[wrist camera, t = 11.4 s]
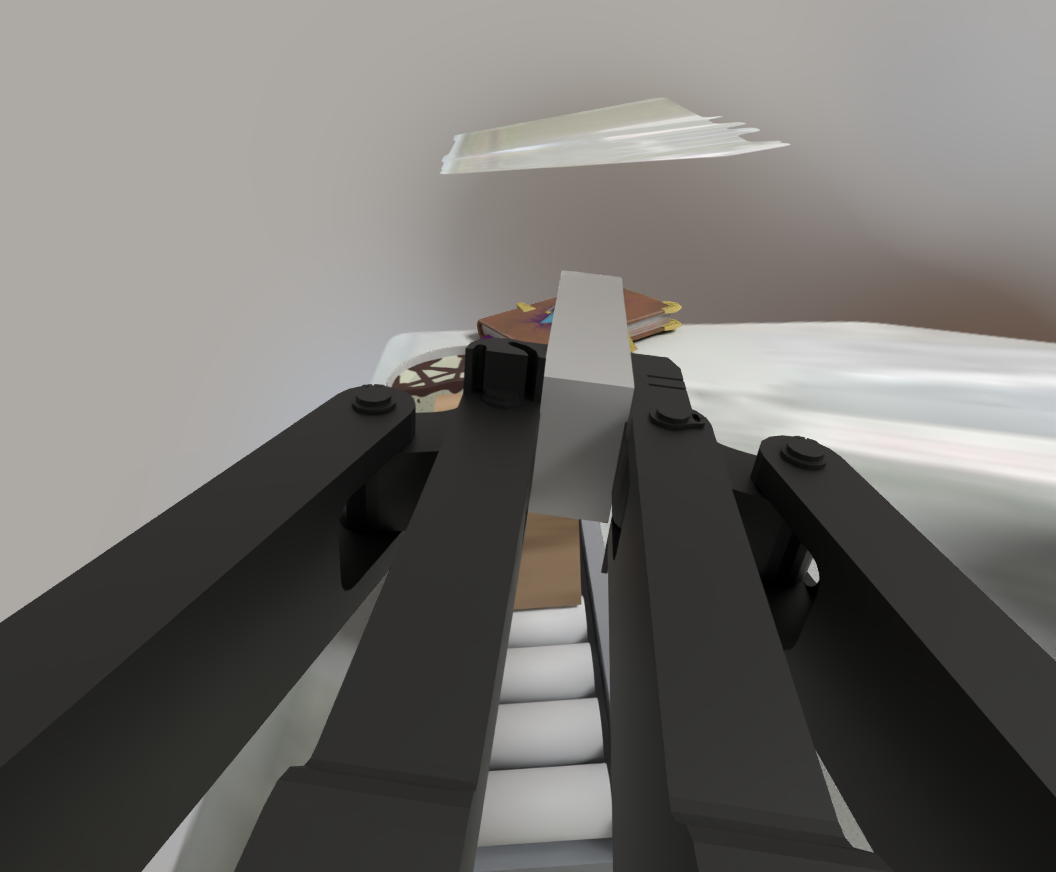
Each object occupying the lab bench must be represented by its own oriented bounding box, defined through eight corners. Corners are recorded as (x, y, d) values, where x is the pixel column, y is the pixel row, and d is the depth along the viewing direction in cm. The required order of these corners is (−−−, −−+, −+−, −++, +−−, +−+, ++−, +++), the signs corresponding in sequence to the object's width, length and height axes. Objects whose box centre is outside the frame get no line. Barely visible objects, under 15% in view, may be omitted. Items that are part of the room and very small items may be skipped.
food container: (537, 433, 61) (531, 336, 56) (544, 471, 56) (537, 368, 51) (407, 446, 61) (387, 349, 55) (401, 485, 56) (379, 383, 50)
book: (446, 354, 80) (439, 316, 78) (608, 306, 90) (606, 270, 87) (509, 401, 67) (504, 356, 65) (690, 338, 77) (691, 297, 75)
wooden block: (581, 604, 38) (577, 480, 33) (444, 614, 38) (419, 492, 33) (566, 497, 46) (562, 385, 41) (454, 505, 46) (436, 395, 41)
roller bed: (654, 869, 30) (663, 772, 25) (393, 888, 30) (356, 794, 25) (591, 516, 51) (589, 430, 46) (438, 527, 51) (422, 442, 46)
